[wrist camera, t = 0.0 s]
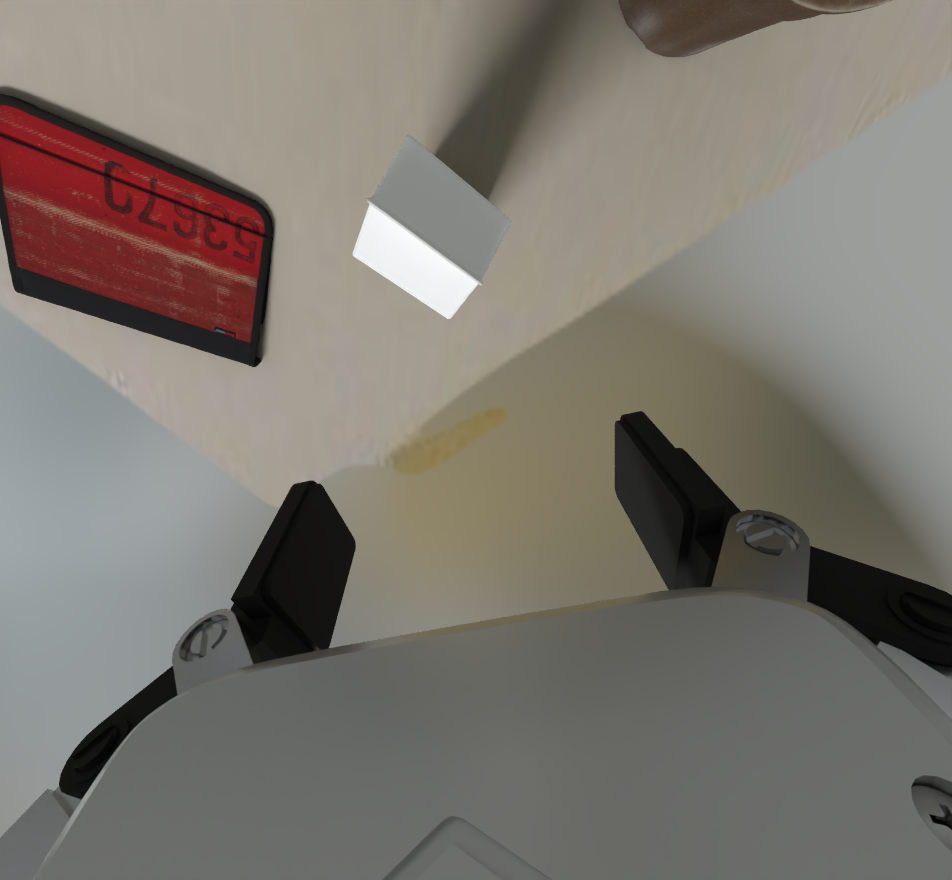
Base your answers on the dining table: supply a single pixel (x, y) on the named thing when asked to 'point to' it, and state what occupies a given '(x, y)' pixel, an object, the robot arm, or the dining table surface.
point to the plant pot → (718, 19)
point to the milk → (429, 230)
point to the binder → (130, 236)
